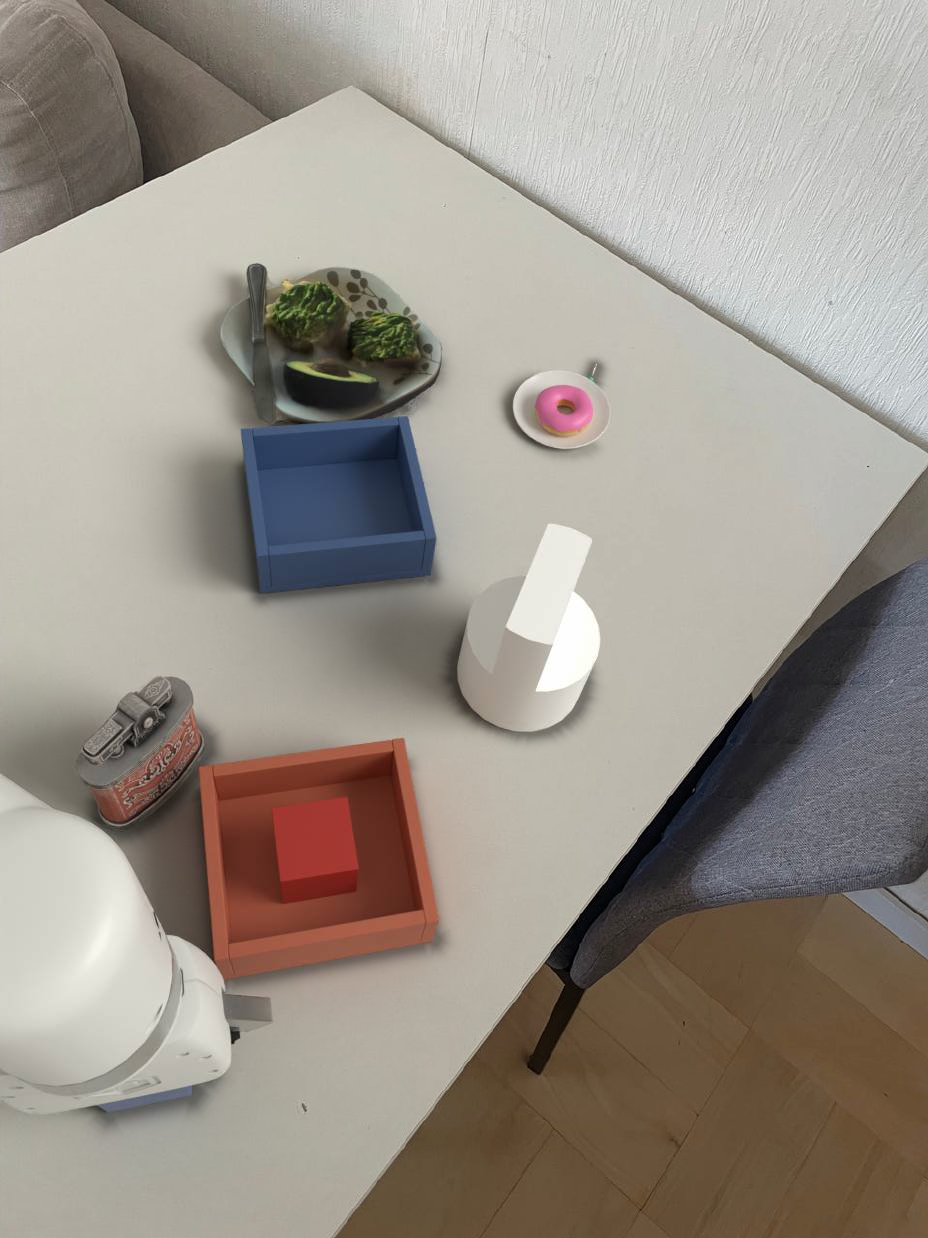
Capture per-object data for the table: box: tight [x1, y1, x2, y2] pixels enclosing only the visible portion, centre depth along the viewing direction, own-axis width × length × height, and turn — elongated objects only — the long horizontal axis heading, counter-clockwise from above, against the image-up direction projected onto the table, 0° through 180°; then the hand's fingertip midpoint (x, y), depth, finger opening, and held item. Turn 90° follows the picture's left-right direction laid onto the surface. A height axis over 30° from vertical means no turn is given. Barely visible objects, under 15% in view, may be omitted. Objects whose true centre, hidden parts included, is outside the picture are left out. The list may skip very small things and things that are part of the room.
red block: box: [271, 797, 359, 904], centre depth 61 cm, size 4×4×4 cm
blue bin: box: [240, 415, 437, 595], centre depth 76 cm, size 13×12×5 cm
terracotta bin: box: [198, 737, 440, 981], centre depth 62 cm, size 13×12×5 cm
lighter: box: [75, 675, 206, 832], centre depth 61 cm, size 8×3×10 cm, turn 145°
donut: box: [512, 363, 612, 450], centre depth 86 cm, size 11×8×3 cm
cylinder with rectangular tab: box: [456, 523, 601, 733], centre depth 68 cm, size 9×9×12 cm
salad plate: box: [219, 262, 443, 426], centre depth 85 cm, size 19×18×5 cm
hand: (147, 1060), depth 57 cm, fingers closed on blue block, 4 cm apart
